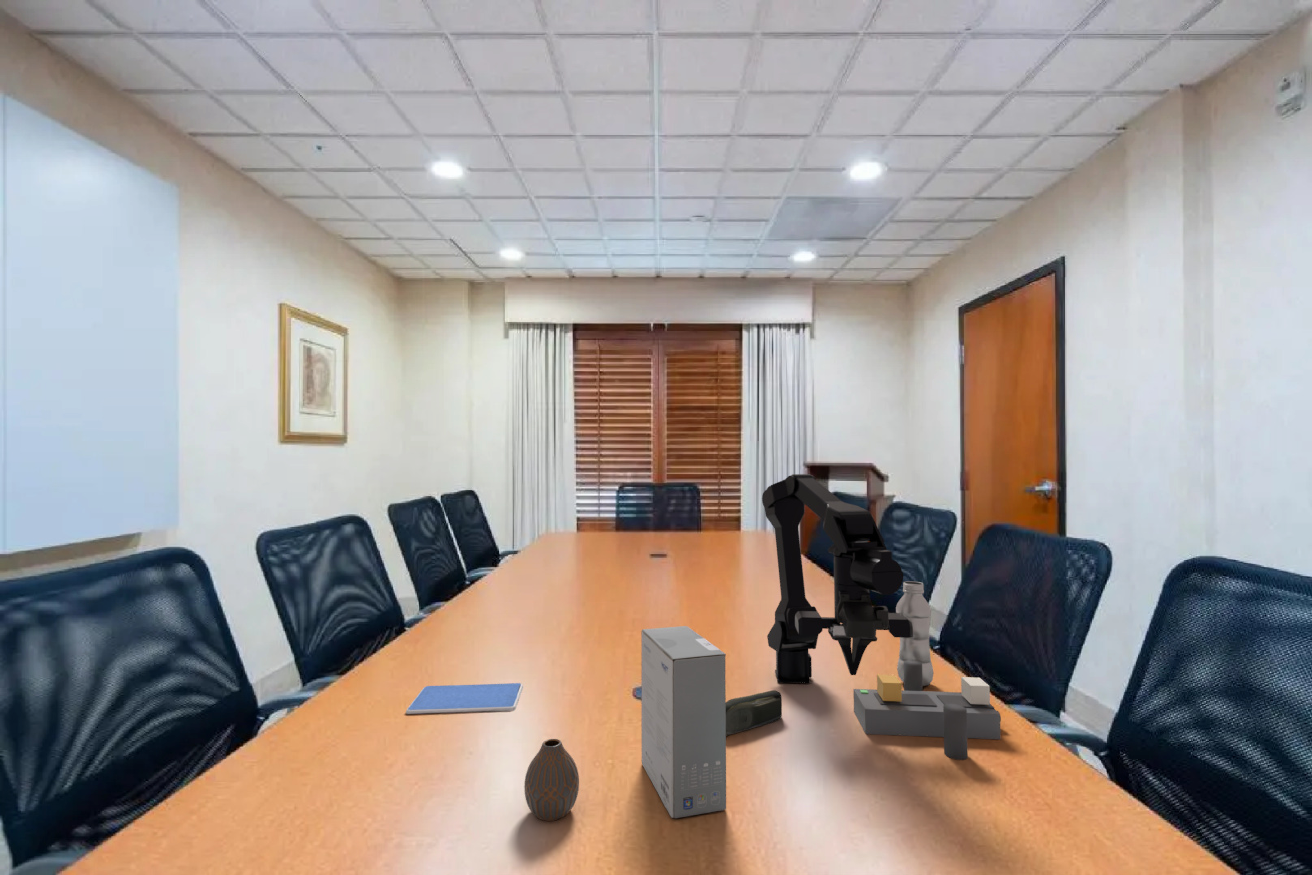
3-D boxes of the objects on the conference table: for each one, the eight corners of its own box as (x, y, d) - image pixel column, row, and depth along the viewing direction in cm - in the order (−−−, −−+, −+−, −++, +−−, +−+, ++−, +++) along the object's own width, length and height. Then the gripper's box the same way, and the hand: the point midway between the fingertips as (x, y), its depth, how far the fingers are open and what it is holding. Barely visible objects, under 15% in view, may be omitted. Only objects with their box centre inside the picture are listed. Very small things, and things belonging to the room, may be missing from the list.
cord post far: (907, 704, 114) (906, 665, 114) (902, 697, 117) (901, 659, 117) (925, 704, 114) (924, 666, 114) (919, 698, 117) (919, 660, 117)
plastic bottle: (937, 691, 120) (935, 586, 121) (900, 688, 121) (898, 585, 122) (929, 679, 126) (927, 580, 127) (894, 677, 128) (892, 579, 128)
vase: (527, 798, 83) (527, 731, 83) (580, 796, 83) (580, 729, 84) (520, 829, 76) (521, 756, 76) (577, 826, 76) (577, 754, 77)
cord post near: (948, 759, 93) (947, 711, 93) (941, 749, 96) (940, 703, 96) (971, 760, 93) (970, 712, 93) (962, 750, 96) (961, 704, 96)
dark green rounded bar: (772, 686, 111) (708, 703, 102) (785, 691, 108) (721, 709, 99) (772, 714, 110) (708, 734, 102) (785, 720, 108) (720, 741, 99)
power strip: (865, 733, 102) (865, 707, 102) (853, 711, 111) (853, 687, 111) (1011, 739, 99) (1010, 713, 99) (987, 716, 108) (986, 692, 108)
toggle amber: (883, 700, 104) (882, 682, 104) (877, 691, 108) (876, 674, 108) (901, 701, 104) (901, 683, 104) (895, 692, 108) (894, 674, 108)
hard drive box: (728, 811, 79) (727, 654, 80) (671, 822, 77) (671, 659, 78) (688, 756, 94) (687, 623, 95) (639, 763, 92) (639, 627, 93)
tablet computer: (523, 688, 124) (523, 681, 124) (515, 713, 112) (515, 706, 112) (424, 691, 122) (424, 685, 122) (404, 718, 110) (404, 710, 110)
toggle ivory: (970, 703, 102) (970, 685, 103) (961, 694, 106) (961, 676, 107) (989, 704, 102) (989, 686, 102) (979, 695, 106) (979, 677, 106)
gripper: (802, 591, 100) (803, 690, 99) (922, 594, 98) (924, 694, 98) (794, 578, 111) (795, 666, 111) (902, 580, 109) (903, 670, 109)
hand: (852, 674), depth 107 cm, fingers closed
